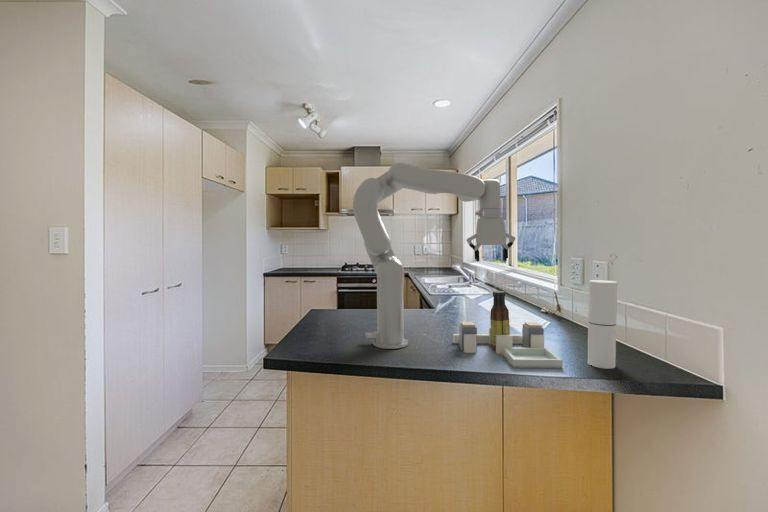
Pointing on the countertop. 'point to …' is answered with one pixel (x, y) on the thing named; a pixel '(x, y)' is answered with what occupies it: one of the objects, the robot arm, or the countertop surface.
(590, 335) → the cylindrical container
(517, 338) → the clip rack
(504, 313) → the sauce bottle
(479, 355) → the countertop surface
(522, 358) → the tray
